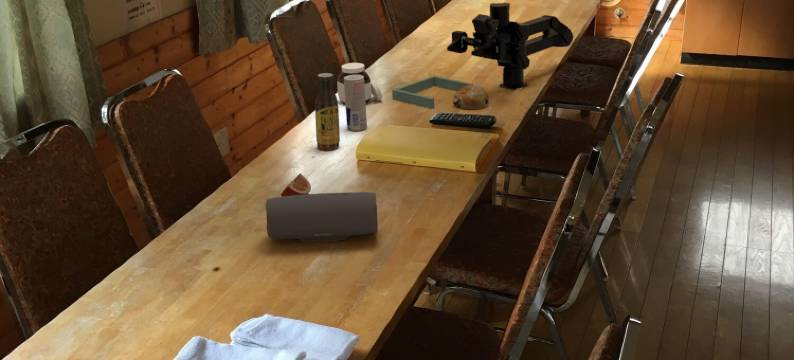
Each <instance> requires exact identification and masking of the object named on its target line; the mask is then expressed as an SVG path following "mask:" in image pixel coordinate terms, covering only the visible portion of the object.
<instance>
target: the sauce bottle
mask: <svg viewBox="0 0 794 360" xmlns="http://www.w3.org/2000/svg"><path fill="white" fill-rule="evenodd" d="M317 82H318V94H317V95H316V96H315V97H316V98H315V101H314V105H315V107H314V108H315V109H314V110H315V111H314V115H315V116H314V118H315V138H316V147H317V149H320V150H323V151H332V150H335V149H338V148H339V147H340V141H341V135H340V133H341V131H340V111H339V110H340V109H339V108H340V107H339V103H338V95H336V93H335V91H334V74H333V73H330V72H329V73H328V72H323V73H318V74H317Z"/></svg>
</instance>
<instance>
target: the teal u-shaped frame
mask: <svg viewBox="0 0 794 360" xmlns="http://www.w3.org/2000/svg"><path fill="white" fill-rule="evenodd" d="M468 85H474V84H473V83H469V82H465V81H461V80H457V79H453V78H452V79H451V78H448V77H442V76H438V75H432V76H429V77H426V78H425V77H424V78H423V79H419V80H416V81H413V82H410V83H407V84H405V85H402V86H399V87H397V88H393V89H392V90H391V92H392V93H391V94H392V95H391V96H392V100H394V101H397V102H403V103H406V102H407V104H410V103H412V104H411V105H414V104H416V105H415V106H418V105H419V106H418V107H422V106H423V108H426V107H428V108H427V109H430V108H431V110H432V108H433V109H435V98H434V97H430V96H426V95H422V94H419V92H422V91H425V90H427V89H430V88H433V87H437V88H442V89H445V90H449V91H454V92H458V91H459V90H460V89H461V88H463V87H465V86H468ZM424 89H425V90H424ZM421 90H422V91H421ZM418 91H419V92H418ZM415 92H416V93H415Z"/></svg>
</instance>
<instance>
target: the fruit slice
mask: <svg viewBox="0 0 794 360" xmlns="http://www.w3.org/2000/svg"><path fill="white" fill-rule="evenodd" d="M311 189H312V186H311V183H310V181H309V180H308V179H307V178H306V177H305V176H304V175H303V174H302V173H299V174H298V175H297V176H296V177H295V178H294V179H293V180H291V181H290V183H288V184H287V186H286V187H284V189H283V191H282V192H281V194H280V197H284V196H294V195H306V194H309V193H310V192H311Z"/></svg>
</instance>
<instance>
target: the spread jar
mask: <svg viewBox="0 0 794 360" xmlns="http://www.w3.org/2000/svg"><path fill="white" fill-rule="evenodd" d="M349 75H362V76H364V84H365V101H366V104H367V103H368V102H369V101H371V98H372V96H373V98H374V99H375V100H376V101H377V102H379V101H381V100H382V99H383V93H382V91H381V88H380V87H379V86H378V83H377V82H376V81H375V80H374V79H373V78H371V77H370V76H369V74H368V73H367V71H365V64H364V63H361V62H350V63H349V62H348V63H343V65H341V73H340V74H339V75H338V76H337V80H336V81H337V83H336V84H337V85H336V86H337V94H338V95H337V97H338V99H339V101H340V102H341V103H342V104H343V105H345V106H346V104H345V90H344V77H346V76H349Z"/></svg>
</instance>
